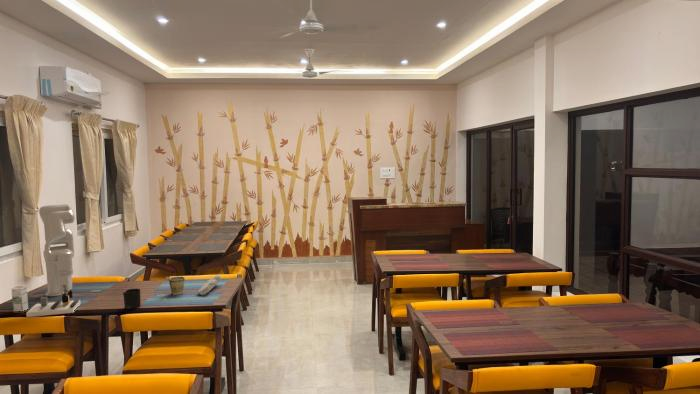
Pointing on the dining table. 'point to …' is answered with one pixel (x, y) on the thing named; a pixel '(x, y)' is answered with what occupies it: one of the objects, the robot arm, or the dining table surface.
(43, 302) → the on breaker
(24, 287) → the syrup box
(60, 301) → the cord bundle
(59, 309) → the breaker panel
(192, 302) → the dining table surface
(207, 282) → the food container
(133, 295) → the pen holder
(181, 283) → the ceramic cup
